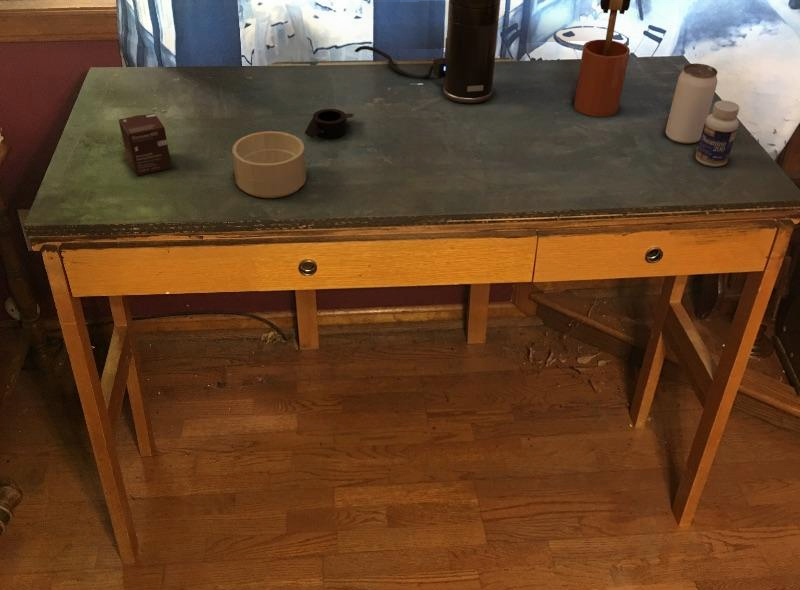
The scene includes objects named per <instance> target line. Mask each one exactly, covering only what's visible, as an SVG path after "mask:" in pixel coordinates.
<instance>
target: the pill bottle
mask: <svg viewBox="0 0 800 590" xmlns="http://www.w3.org/2000/svg"><path fill="white" fill-rule="evenodd" d="M739 110H740V106H739V104H738V103H736V102H733V101H732V100H731V101H730V100H718V101H715V103H714V105H713V108H712V111H711V113H709V115H708V116H707V118H706V120H705V124H704V127H703V131H702V134H701V138H700V140H699V141H698V145H697V149H696V153H695V160H697V162H698V163H701V164H702V165H704V166H708V167H715V168H716V167H722V166H725V165H726V164H727V162H728V160H729V157H730V155H731V151H732V149H733V145H734V142H735V139H736V136H737V133H738V129H739V125H740V122H739V119H738V118H737V116H738V115H739Z"/></svg>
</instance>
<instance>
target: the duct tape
mask: <svg viewBox="0 0 800 590" xmlns="http://www.w3.org/2000/svg"><path fill="white" fill-rule="evenodd" d="M354 116H355V114H354V113H350V112H349V113H345V112H344V111H342V110H340V109H336V108H323V109H320V110H317V111H316V112H314V113H313V115H312V118H311V120H310V122H309V124H308V125H307V127H306V129H305V131H304V134H305V135H307V136H308V137H310V138H314V137H318V138H319V139H323V140H336V139H341V138H342V137H344V136H345V135H346V134H347V119H350V118H352V117H354Z"/></svg>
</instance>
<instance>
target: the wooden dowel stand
mask: <svg viewBox="0 0 800 590" xmlns="http://www.w3.org/2000/svg"><path fill="white" fill-rule="evenodd" d="M622 3H623V0H610V2H609V8H608V11H609V17H608V23H607V29H606V33H605V39H604V40H605V46H604V52H603V56H610V51H611V45H612V40H613V41H614V35H615V34H614V33H615V28H616V27H615V26H616V22H617V15H618V11H619V10H621V9H622Z"/></svg>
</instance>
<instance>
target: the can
mask: <svg viewBox="0 0 800 590" xmlns="http://www.w3.org/2000/svg"><path fill="white" fill-rule="evenodd" d="M717 75H718V70H717V68H715V67H713V66H711V65H708V64H705V63H688V64H686V65H684V66H683V70H682V71H681V73H680V74H679V76H678V79H677V82H676V87H675V91H674V95H673V99H672V102H671V106H670V110H669V114H668V119H667V123H666V126H665V127H666V128H665V130H664V131H665V135H666V137H667V138H668V139H669V140H671V141H672V142H674V143H678V144H683V145H691V144H696V143H699V141H700V138H701V134H702V131H703V127H704V124H705V120H706V118H707V116H708V115H710V110H711V108H712V104H713V100H714V96H715V94H716V91H717V90H716V89H717V86H718V76H717Z"/></svg>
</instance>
